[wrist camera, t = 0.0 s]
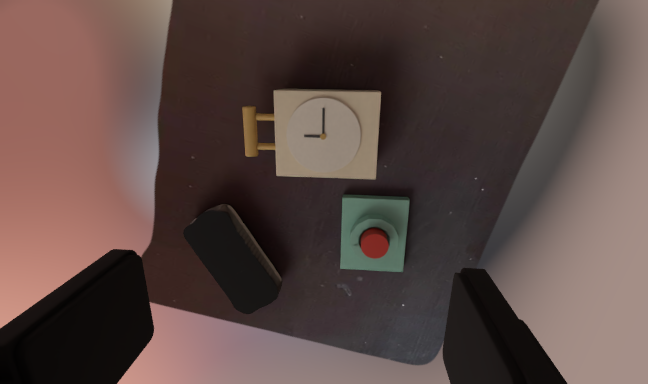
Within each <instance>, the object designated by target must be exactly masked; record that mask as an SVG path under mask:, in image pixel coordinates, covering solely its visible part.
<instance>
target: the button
mask: <svg viewBox="0 0 648 384" xmlns="http://www.w3.org/2000/svg"><path fill="white" fill-rule="evenodd" d="M388 248H389V244H388V239H387V235H386V234H385V232H384V231H382V230H381V229H378V228H370V229H368V230H366V231H365V232H364V233H363V234H362V236H361V249H362V252H363V253H364V254H365V255H366V256H367V257H369V258H373V259H377V258H381V257H383V256H384V255H385V254H386V253H387V251H388Z"/></svg>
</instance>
